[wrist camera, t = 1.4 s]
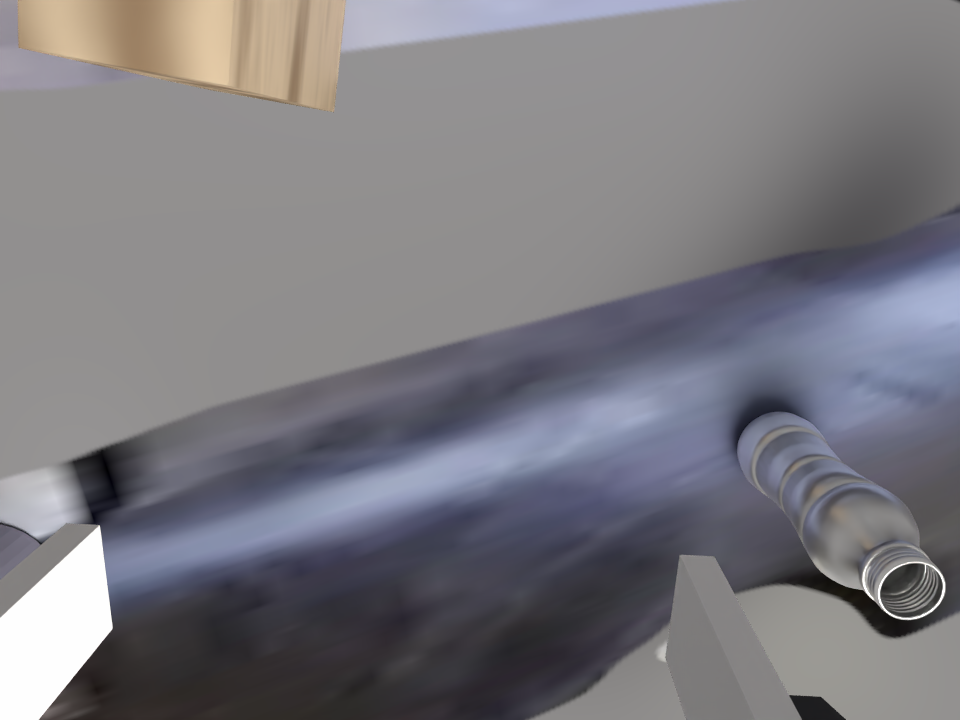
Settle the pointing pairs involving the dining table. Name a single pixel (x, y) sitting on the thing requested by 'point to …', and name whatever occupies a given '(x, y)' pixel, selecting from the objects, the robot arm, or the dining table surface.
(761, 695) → the robot arm
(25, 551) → the container
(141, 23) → the oak side stand
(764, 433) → the plastic bottle
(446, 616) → the dining table surface
